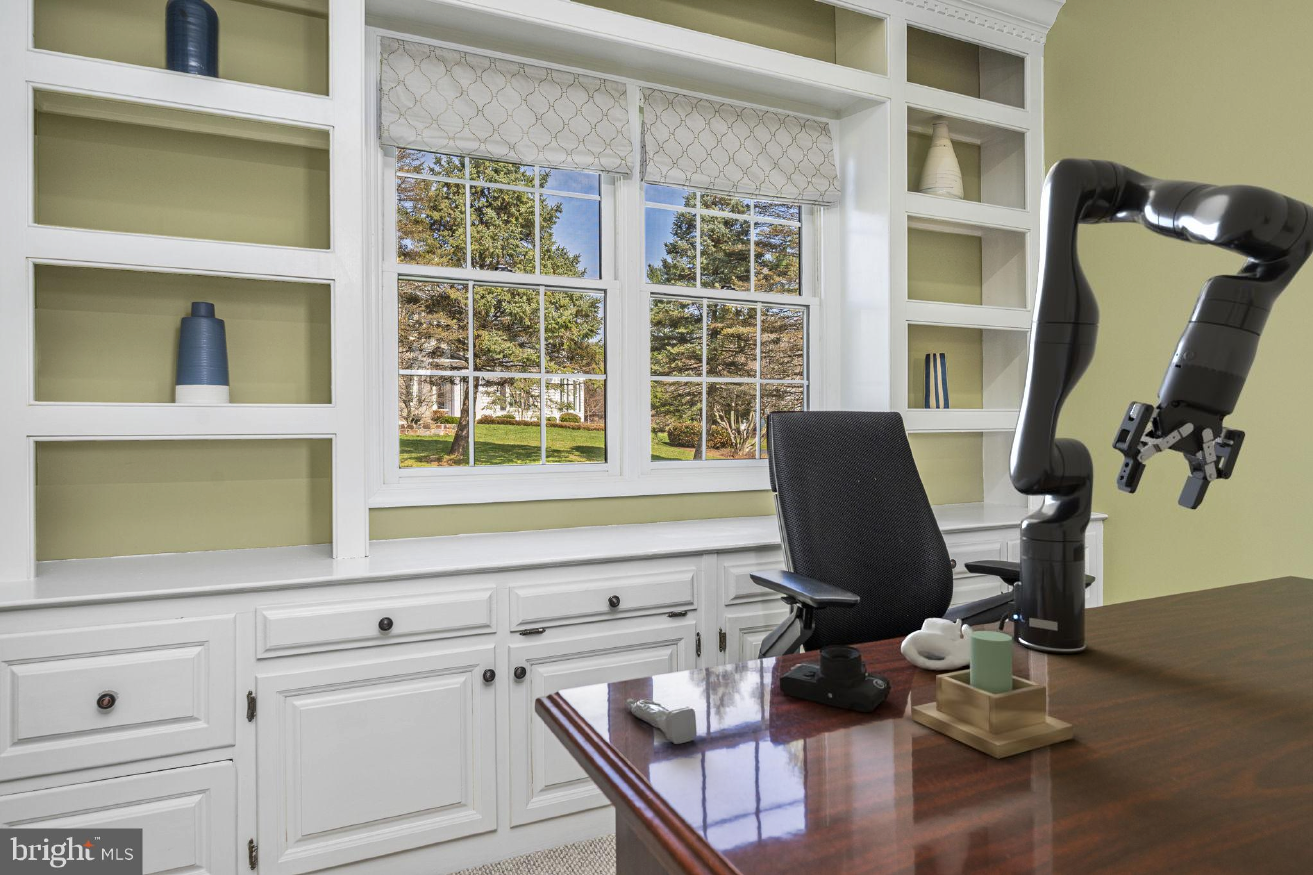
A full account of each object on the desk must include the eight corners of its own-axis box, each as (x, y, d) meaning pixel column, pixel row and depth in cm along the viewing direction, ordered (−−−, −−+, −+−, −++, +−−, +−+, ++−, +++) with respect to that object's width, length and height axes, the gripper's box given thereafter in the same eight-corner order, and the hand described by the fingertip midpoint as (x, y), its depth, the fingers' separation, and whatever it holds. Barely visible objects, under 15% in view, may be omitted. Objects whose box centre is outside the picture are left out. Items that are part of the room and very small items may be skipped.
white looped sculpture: (899, 671, 106) (889, 615, 111) (948, 689, 113) (937, 635, 117) (953, 656, 101) (940, 597, 106) (1001, 675, 107) (987, 619, 112)
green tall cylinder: (961, 710, 86) (961, 633, 86) (988, 704, 88) (988, 628, 88) (993, 724, 82) (994, 642, 82) (1020, 717, 84) (1021, 638, 84)
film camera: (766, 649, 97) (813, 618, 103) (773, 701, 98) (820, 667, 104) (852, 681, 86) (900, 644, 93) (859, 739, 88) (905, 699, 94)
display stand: (911, 719, 88) (911, 672, 88) (982, 703, 93) (983, 659, 93) (998, 759, 77) (998, 706, 77) (1073, 738, 83) (1073, 689, 83)
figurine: (672, 746, 80) (669, 713, 80) (618, 721, 90) (615, 692, 91) (698, 738, 82) (695, 705, 82) (642, 714, 92) (640, 686, 92)
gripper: (1231, 379, 91) (1181, 504, 93) (1131, 349, 89) (1082, 477, 91) (1289, 387, 84) (1232, 522, 86) (1181, 355, 81) (1127, 494, 84)
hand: (1155, 499), depth 89 cm, fingers open, 8 cm apart
